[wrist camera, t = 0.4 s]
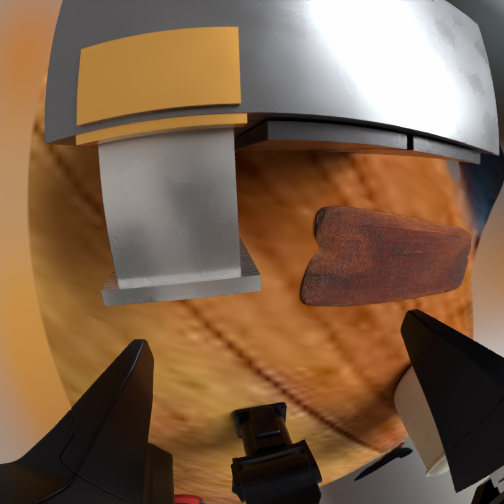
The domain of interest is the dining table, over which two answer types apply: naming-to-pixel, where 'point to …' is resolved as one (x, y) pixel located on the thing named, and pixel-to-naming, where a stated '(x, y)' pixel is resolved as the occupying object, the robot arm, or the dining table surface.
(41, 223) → the dining table surface
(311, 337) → the dining table surface
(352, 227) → the wooden tablet
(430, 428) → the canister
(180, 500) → the canned food
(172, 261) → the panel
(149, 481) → the wine bottle
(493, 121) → the small drawer cabinet
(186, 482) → the dining table surface
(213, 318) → the dining table surface
